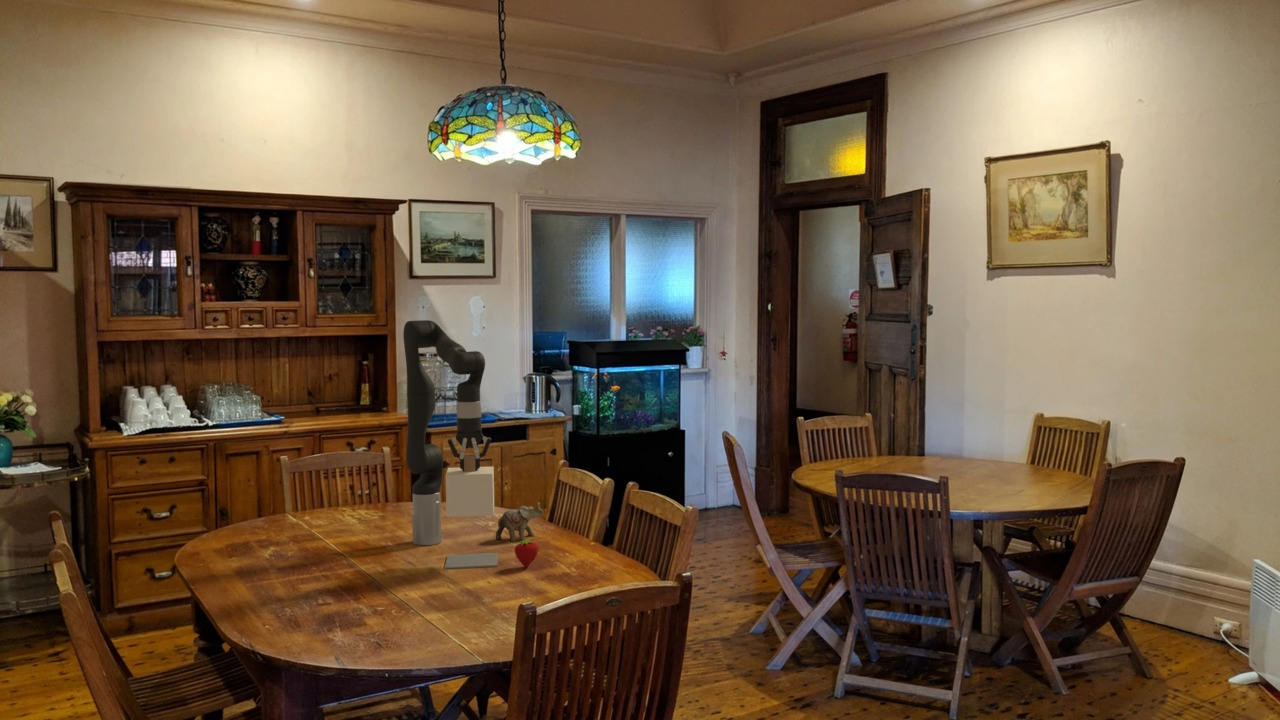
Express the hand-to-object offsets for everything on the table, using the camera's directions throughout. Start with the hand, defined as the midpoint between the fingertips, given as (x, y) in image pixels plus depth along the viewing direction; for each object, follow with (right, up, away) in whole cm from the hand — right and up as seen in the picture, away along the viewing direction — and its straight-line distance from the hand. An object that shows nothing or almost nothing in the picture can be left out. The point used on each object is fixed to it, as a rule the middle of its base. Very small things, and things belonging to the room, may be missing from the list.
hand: (470, 470), depth 296 cm
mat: (0, -29, +2) cm, 29 cm away
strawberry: (+18, -29, -5) cm, 35 cm away
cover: (0, -13, +1) cm, 13 cm away
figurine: (+12, -27, +30) cm, 42 cm away
